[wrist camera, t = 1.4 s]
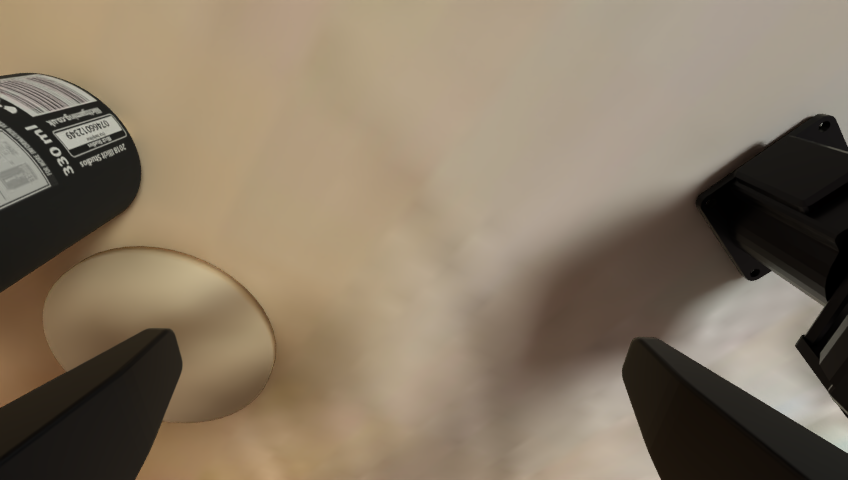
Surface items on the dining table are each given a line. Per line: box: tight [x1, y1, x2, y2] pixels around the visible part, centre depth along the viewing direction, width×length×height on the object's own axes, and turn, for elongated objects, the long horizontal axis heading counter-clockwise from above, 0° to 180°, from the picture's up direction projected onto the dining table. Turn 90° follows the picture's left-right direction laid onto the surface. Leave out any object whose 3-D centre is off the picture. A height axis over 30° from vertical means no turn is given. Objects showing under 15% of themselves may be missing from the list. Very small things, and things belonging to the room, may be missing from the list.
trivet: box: [43, 246, 276, 423], centre depth 24 cm, size 12×12×1 cm
